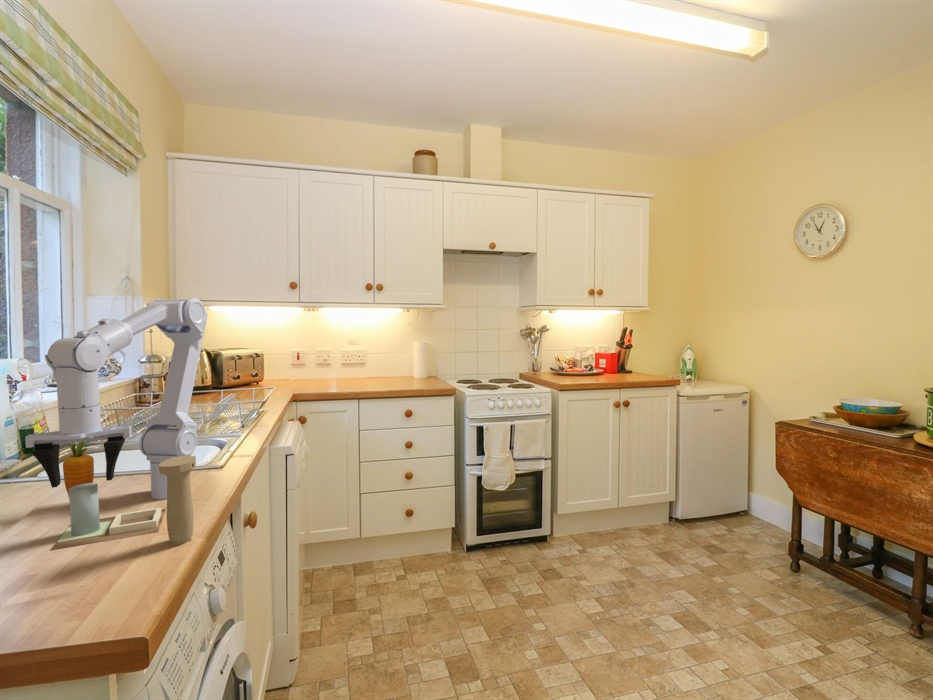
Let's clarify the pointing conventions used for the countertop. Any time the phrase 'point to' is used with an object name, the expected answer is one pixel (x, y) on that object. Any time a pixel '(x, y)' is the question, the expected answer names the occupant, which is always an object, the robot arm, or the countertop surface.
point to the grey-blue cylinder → (84, 509)
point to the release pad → (68, 537)
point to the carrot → (78, 467)
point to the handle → (179, 498)
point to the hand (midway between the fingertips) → (83, 482)
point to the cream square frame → (118, 528)
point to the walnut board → (113, 536)
